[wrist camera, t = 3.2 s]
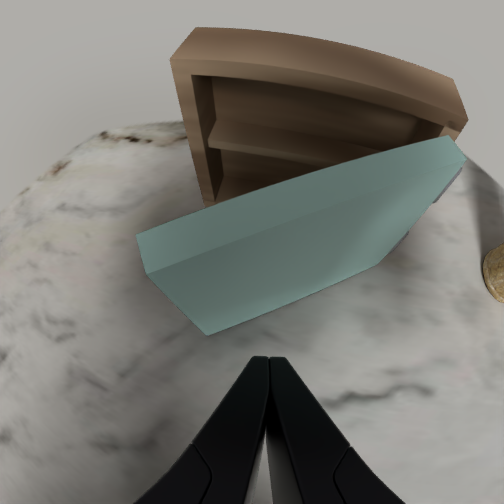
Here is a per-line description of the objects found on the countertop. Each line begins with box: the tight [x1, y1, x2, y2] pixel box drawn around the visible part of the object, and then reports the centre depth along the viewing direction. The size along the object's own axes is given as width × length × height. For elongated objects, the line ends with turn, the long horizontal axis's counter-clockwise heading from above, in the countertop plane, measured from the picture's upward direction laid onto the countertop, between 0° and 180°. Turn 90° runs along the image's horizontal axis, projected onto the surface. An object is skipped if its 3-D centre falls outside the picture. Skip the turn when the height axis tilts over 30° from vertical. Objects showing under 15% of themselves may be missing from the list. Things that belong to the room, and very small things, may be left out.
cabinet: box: [170, 27, 468, 207], centre depth 16 cm, size 3×12×12 cm, turn 77°
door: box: [136, 135, 467, 336], centre depth 14 cm, size 1×12×11 cm, turn 112°
